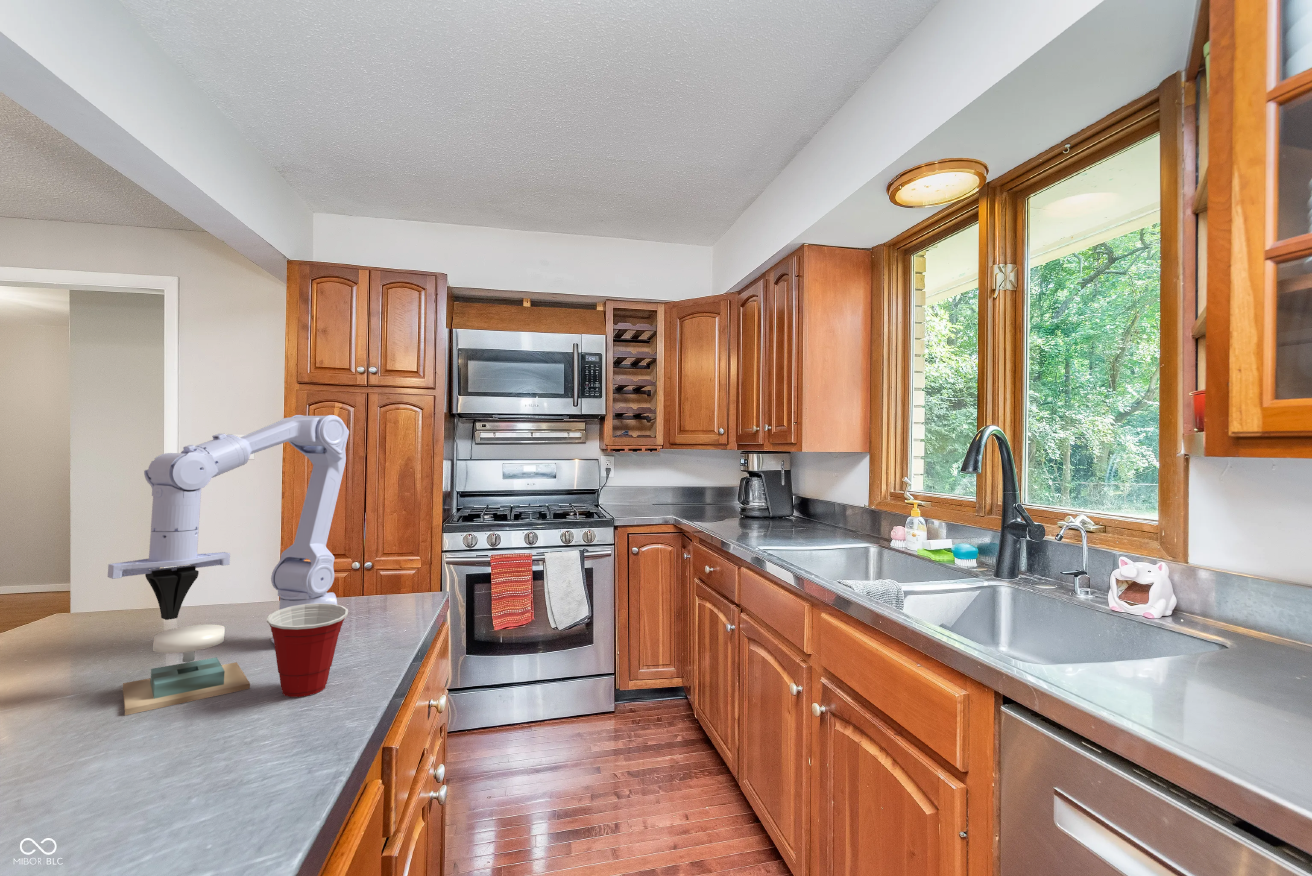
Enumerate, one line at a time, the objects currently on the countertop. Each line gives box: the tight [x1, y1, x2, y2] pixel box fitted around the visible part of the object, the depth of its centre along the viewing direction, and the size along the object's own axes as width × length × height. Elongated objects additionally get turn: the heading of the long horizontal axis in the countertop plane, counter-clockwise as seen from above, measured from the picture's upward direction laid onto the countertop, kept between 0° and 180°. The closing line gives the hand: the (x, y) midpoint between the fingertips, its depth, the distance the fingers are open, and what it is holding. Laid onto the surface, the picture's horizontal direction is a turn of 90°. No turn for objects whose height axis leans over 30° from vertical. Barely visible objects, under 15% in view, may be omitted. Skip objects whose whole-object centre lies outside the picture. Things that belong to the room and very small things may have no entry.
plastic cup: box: [266, 603, 349, 698], centre depth 87 cm, size 11×11×12 cm
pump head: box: [152, 623, 226, 663], centre depth 86 cm, size 8×8×4 cm
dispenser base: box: [122, 657, 251, 716], centre depth 86 cm, size 14×12×3 cm
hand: (169, 618), depth 87 cm, fingers closed
